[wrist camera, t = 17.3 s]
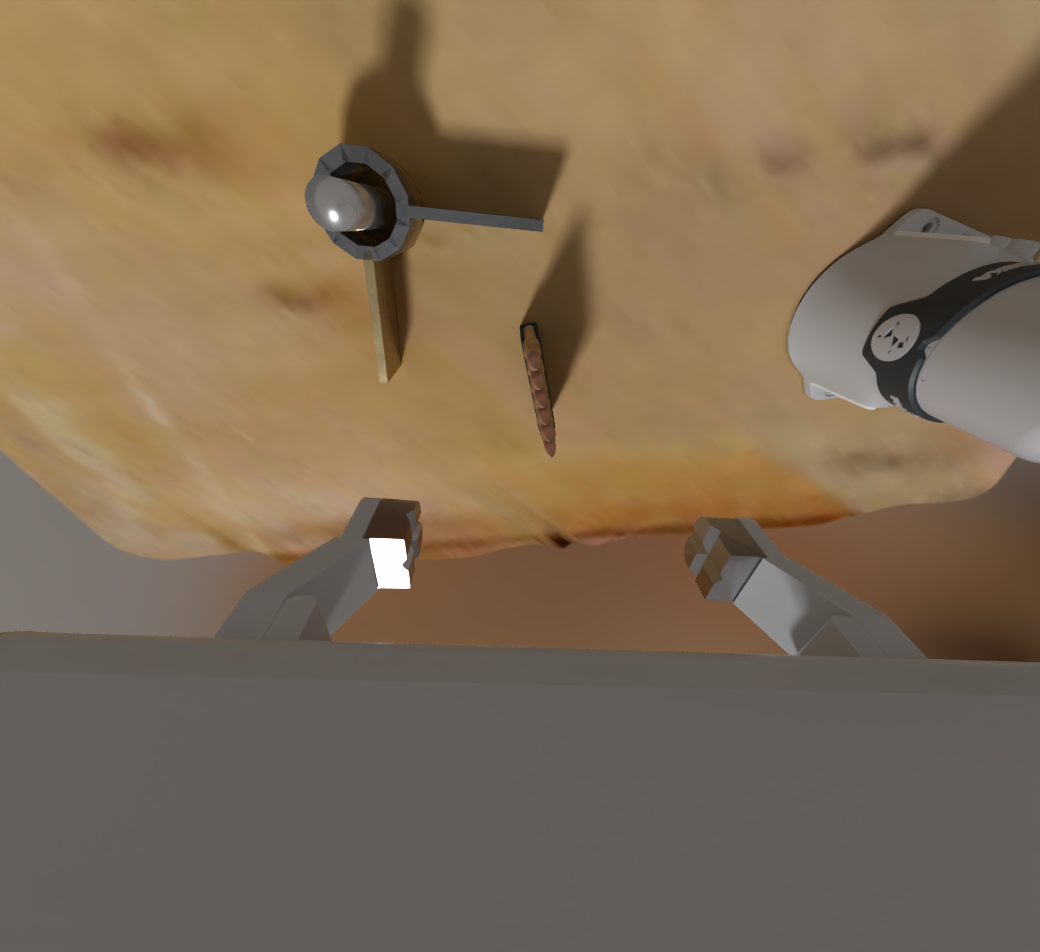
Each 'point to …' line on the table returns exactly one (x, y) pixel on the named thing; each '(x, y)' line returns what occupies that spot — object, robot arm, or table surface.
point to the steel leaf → (399, 204)
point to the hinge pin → (349, 205)
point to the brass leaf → (384, 291)
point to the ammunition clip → (539, 385)
